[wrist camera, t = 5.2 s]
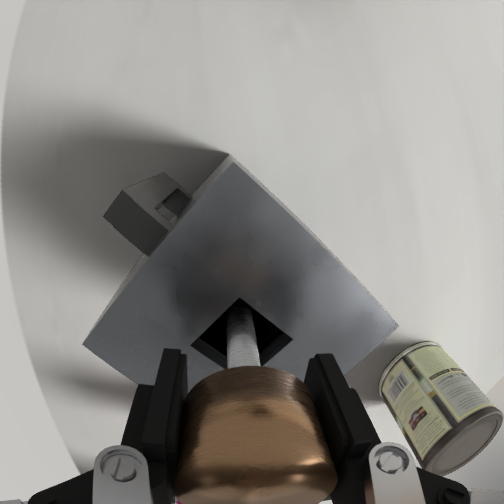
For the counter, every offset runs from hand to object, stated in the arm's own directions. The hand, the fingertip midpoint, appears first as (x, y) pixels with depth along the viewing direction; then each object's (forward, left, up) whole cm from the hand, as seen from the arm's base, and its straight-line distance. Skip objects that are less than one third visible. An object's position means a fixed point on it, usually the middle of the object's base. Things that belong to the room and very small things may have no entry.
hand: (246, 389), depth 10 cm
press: (0, +1, -19) cm, 19 cm away
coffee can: (+2, -29, -19) cm, 35 cm away
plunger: (0, 0, -13) cm, 13 cm away
